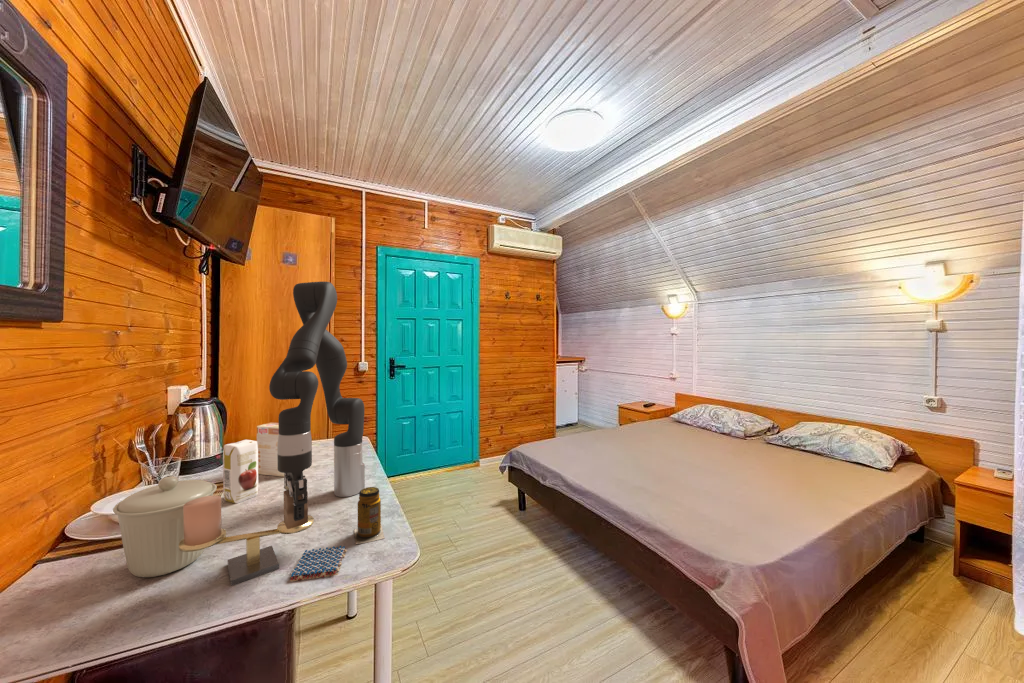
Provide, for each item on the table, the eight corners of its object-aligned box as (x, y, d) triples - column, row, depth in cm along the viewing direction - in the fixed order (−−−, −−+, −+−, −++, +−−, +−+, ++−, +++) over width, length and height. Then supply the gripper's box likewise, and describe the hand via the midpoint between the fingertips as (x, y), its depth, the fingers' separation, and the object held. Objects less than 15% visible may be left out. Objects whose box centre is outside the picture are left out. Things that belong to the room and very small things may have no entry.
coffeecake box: (301, 471, 149) (301, 423, 149) (287, 477, 142) (286, 427, 142) (271, 468, 153) (271, 421, 152) (256, 474, 146) (255, 425, 146)
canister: (157, 594, 78) (156, 495, 77) (90, 584, 81) (89, 489, 81) (235, 546, 95) (234, 466, 95) (178, 539, 99) (177, 462, 98)
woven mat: (287, 585, 81) (287, 576, 81) (303, 557, 91) (302, 549, 91) (337, 578, 83) (337, 569, 83) (347, 551, 94) (347, 544, 94)
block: (303, 516, 96) (303, 486, 96) (307, 522, 93) (307, 491, 92) (283, 522, 93) (283, 491, 93) (287, 529, 90) (287, 496, 90)
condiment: (381, 524, 107) (380, 483, 106) (384, 538, 99) (384, 494, 99) (354, 530, 103) (353, 488, 103) (355, 545, 96) (355, 500, 96)
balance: (308, 538, 99) (308, 500, 99) (318, 554, 92) (318, 513, 92) (179, 580, 82) (179, 535, 82) (178, 604, 74) (178, 554, 74)
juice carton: (220, 501, 121) (219, 444, 121) (247, 491, 129) (246, 438, 129) (234, 505, 119) (234, 447, 118) (261, 494, 127) (261, 440, 126)
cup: (220, 527, 85) (220, 493, 85) (222, 538, 80) (222, 502, 80) (183, 537, 81) (183, 501, 81) (183, 549, 76) (183, 511, 76)
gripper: (318, 453, 90) (318, 518, 90) (304, 441, 100) (305, 499, 100) (283, 460, 85) (283, 529, 85) (272, 446, 95) (272, 508, 95)
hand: (295, 513), depth 93 cm, fingers open, 8 cm apart
